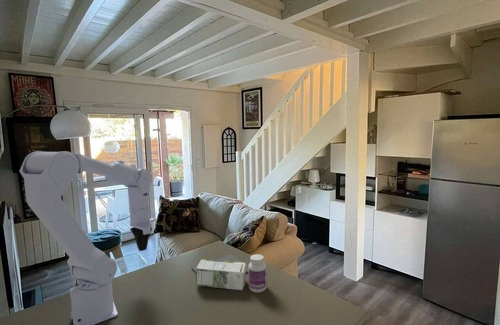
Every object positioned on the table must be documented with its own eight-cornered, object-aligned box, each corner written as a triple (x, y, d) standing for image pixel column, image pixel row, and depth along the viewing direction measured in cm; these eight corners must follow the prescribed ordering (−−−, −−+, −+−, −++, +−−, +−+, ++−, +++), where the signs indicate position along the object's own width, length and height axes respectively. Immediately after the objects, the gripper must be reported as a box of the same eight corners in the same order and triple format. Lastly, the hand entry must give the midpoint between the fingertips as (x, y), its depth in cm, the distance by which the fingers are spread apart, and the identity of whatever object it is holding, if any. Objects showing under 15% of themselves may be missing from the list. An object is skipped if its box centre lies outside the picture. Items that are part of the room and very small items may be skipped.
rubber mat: (210, 287, 82) (210, 285, 82) (191, 268, 93) (191, 267, 93) (253, 270, 91) (253, 268, 91) (231, 255, 102) (231, 254, 102)
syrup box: (201, 275, 87) (246, 278, 85) (195, 286, 81) (243, 290, 80) (201, 258, 86) (246, 262, 84) (195, 268, 80) (243, 272, 79)
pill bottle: (269, 290, 79) (269, 259, 78) (252, 295, 77) (252, 262, 76) (262, 281, 84) (261, 251, 83) (246, 285, 82) (245, 254, 81)
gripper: (160, 210, 80) (162, 254, 81) (146, 200, 91) (149, 239, 93) (134, 214, 76) (138, 261, 77) (123, 204, 87) (126, 244, 89)
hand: (142, 249), depth 85 cm, fingers closed
